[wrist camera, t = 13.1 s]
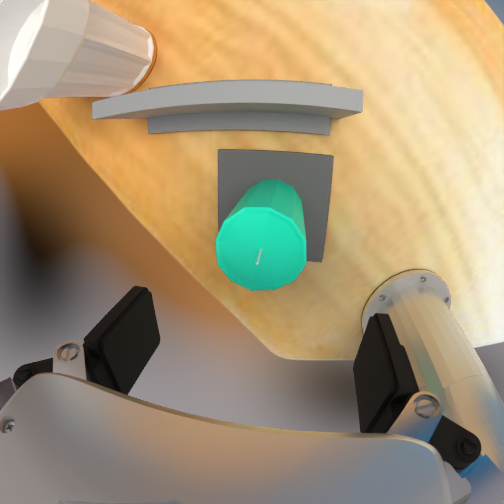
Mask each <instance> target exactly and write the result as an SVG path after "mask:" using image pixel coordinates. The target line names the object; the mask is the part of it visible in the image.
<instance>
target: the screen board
mask: <svg viewBox="0 0 504 504" xmlns="http://www.w3.org/2000/svg"><path fill="white" fill-rule="evenodd" d="M362 110H363V91H362V90H356V89H350V88H343V87H336V86H332V84H324V83H314V82H302V81H287V80H222V81H206V82H194V83H185V84H176V85H168V86H161V87H155V88H149V90H145V91H140V92H134V93H129V94H124V95H120V96H115V97H111V98H107V99H103V100H99V101H95V102H92V120H93V119H148V134H153V133H164V132H178V131H197V130H269V131H288V132H302V133H314V134H324V135H330V125H331V118H337V119H341V118H344V117H347V116H350V115H354V114H357V113H361V112H362Z"/></svg>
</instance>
